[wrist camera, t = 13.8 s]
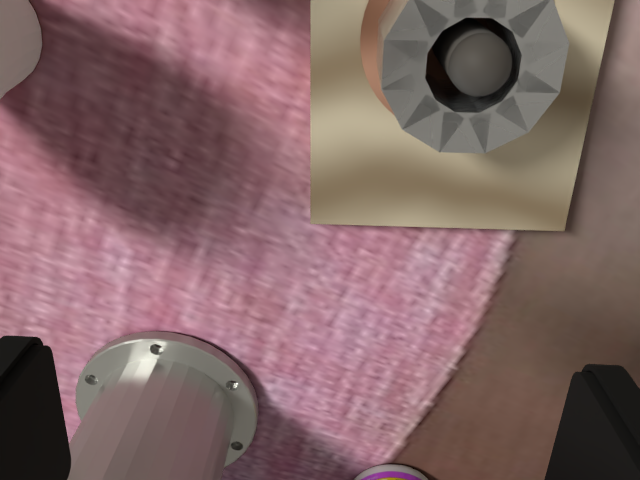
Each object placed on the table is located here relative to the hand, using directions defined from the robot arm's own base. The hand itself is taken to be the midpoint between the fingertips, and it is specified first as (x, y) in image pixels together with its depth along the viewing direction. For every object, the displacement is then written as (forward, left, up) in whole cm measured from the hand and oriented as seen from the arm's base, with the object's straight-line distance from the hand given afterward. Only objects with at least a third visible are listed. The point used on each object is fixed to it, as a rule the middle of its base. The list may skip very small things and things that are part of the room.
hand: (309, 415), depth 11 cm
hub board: (+1, -6, -23) cm, 24 cm away
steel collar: (+3, -5, -22) cm, 23 cm away
